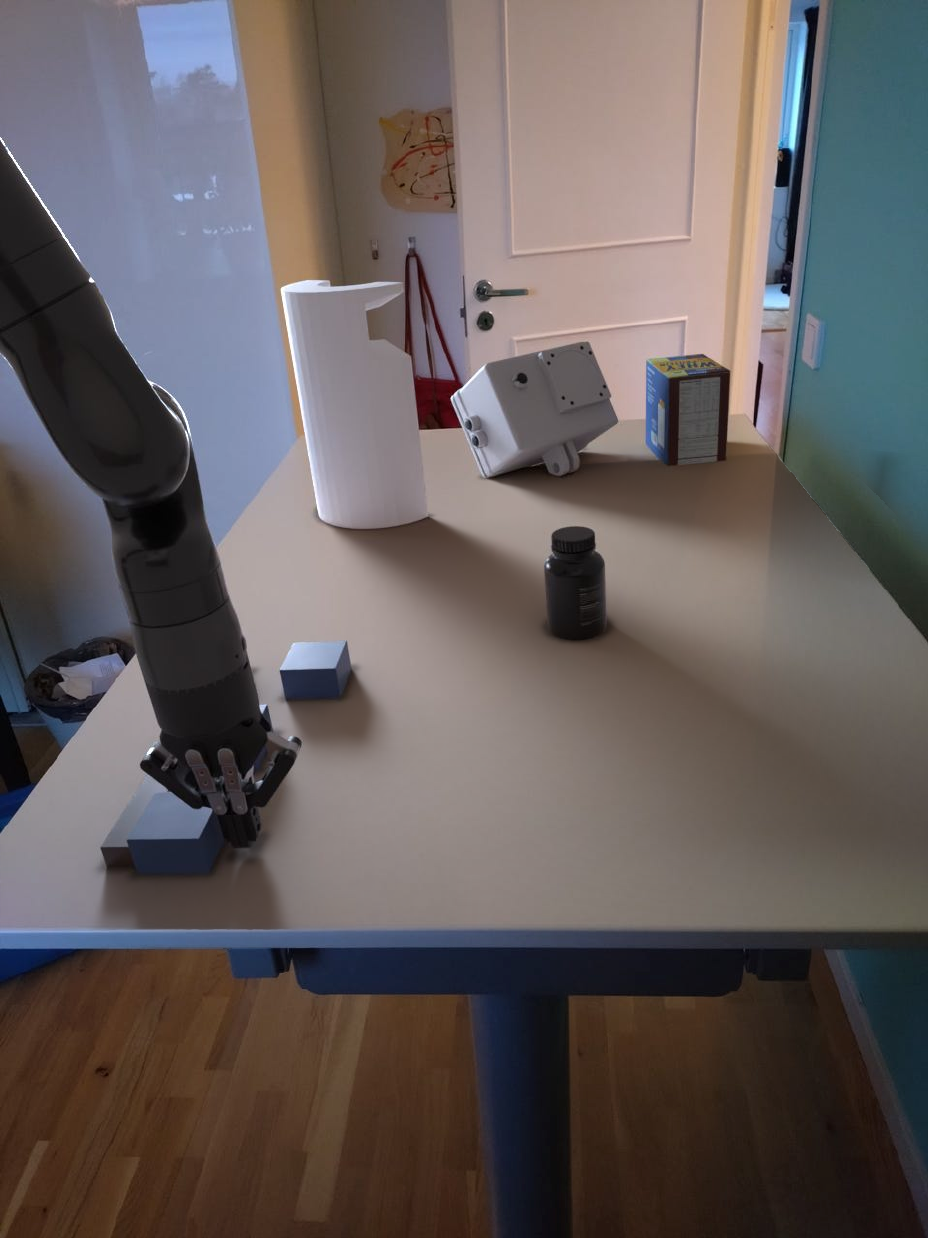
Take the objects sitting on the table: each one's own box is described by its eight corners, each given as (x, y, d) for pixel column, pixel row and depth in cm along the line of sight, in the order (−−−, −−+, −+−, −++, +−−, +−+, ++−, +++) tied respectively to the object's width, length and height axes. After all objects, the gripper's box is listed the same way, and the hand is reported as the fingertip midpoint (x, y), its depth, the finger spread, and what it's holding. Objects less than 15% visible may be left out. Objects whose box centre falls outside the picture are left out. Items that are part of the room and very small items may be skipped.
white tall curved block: (344, 495, 154) (432, 517, 141) (292, 516, 146) (379, 541, 133) (311, 279, 138) (407, 281, 125) (251, 290, 131) (346, 294, 117)
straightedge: (107, 871, 73) (99, 847, 72) (226, 676, 101) (221, 656, 100) (142, 871, 73) (135, 847, 72) (251, 675, 101) (247, 655, 99)
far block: (285, 702, 95) (279, 670, 93) (299, 673, 100) (293, 642, 98) (341, 701, 94) (335, 668, 92) (352, 672, 99) (347, 640, 98)
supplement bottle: (605, 615, 106) (603, 520, 101) (608, 643, 100) (607, 544, 95) (547, 617, 107) (542, 523, 102) (546, 645, 101) (542, 546, 96)
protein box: (700, 438, 166) (703, 352, 159) (726, 462, 152) (732, 370, 145) (644, 443, 166) (645, 358, 159) (665, 468, 152) (667, 376, 145)
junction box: (527, 478, 140) (474, 349, 141) (484, 508, 154) (436, 390, 154) (638, 443, 152) (589, 324, 152) (590, 474, 165) (544, 364, 166)
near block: (138, 878, 72) (125, 840, 71) (166, 828, 78) (155, 792, 76) (209, 877, 72) (199, 839, 70) (232, 827, 77) (223, 790, 75)
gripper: (86, 691, 63) (151, 876, 71) (267, 681, 62) (313, 872, 69) (129, 639, 70) (185, 814, 78) (294, 630, 68) (333, 809, 76)
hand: (245, 841), depth 74 cm, fingers closed
